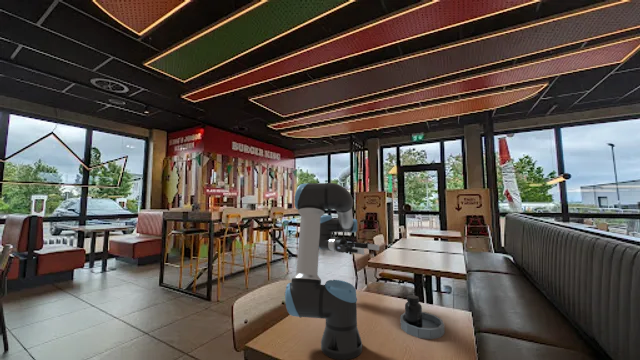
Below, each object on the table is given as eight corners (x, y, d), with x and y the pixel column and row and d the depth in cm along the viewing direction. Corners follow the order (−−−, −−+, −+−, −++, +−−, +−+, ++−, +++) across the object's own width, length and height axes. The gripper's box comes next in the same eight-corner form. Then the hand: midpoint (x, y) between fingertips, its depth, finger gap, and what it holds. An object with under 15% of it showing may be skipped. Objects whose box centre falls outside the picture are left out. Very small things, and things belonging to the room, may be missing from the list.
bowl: (417, 341, 101) (417, 332, 102) (393, 322, 118) (393, 314, 118) (453, 335, 106) (453, 326, 106) (425, 317, 122) (425, 309, 123)
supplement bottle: (419, 322, 115) (418, 294, 116) (425, 330, 108) (424, 299, 109) (403, 322, 115) (402, 294, 116) (408, 329, 108) (407, 299, 109)
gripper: (352, 248, 153) (384, 253, 139) (323, 255, 135) (356, 261, 121) (352, 235, 154) (384, 239, 139) (322, 240, 136) (356, 245, 121)
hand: (371, 249), depth 130 cm, fingers open, 13 cm apart
